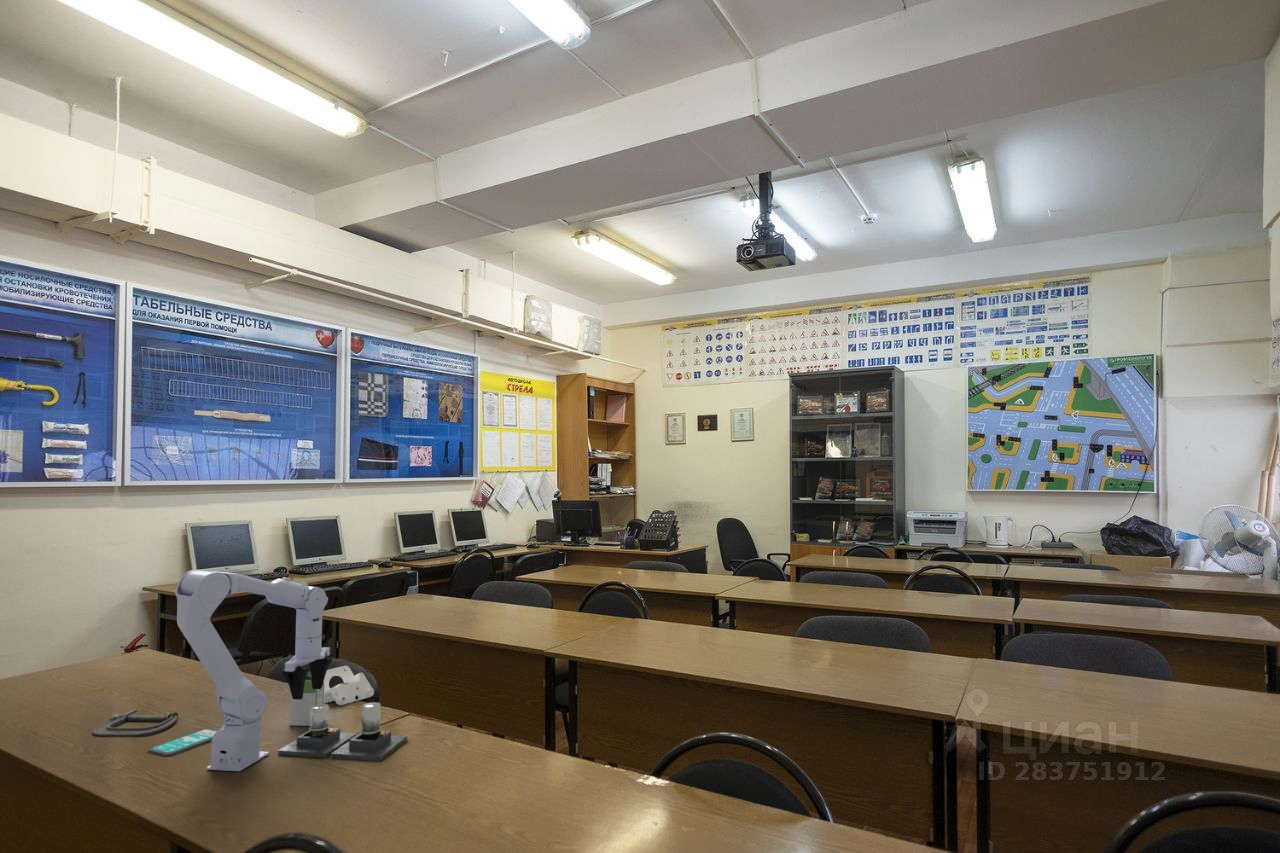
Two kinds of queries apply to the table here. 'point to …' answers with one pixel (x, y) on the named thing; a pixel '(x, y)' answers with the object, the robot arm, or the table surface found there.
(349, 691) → the mounting bracket
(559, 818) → the table surface
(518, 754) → the table surface
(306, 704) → the ink box
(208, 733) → the smartphone
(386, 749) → the stand
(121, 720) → the c clamp
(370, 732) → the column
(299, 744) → the stand
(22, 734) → the table surface
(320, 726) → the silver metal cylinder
